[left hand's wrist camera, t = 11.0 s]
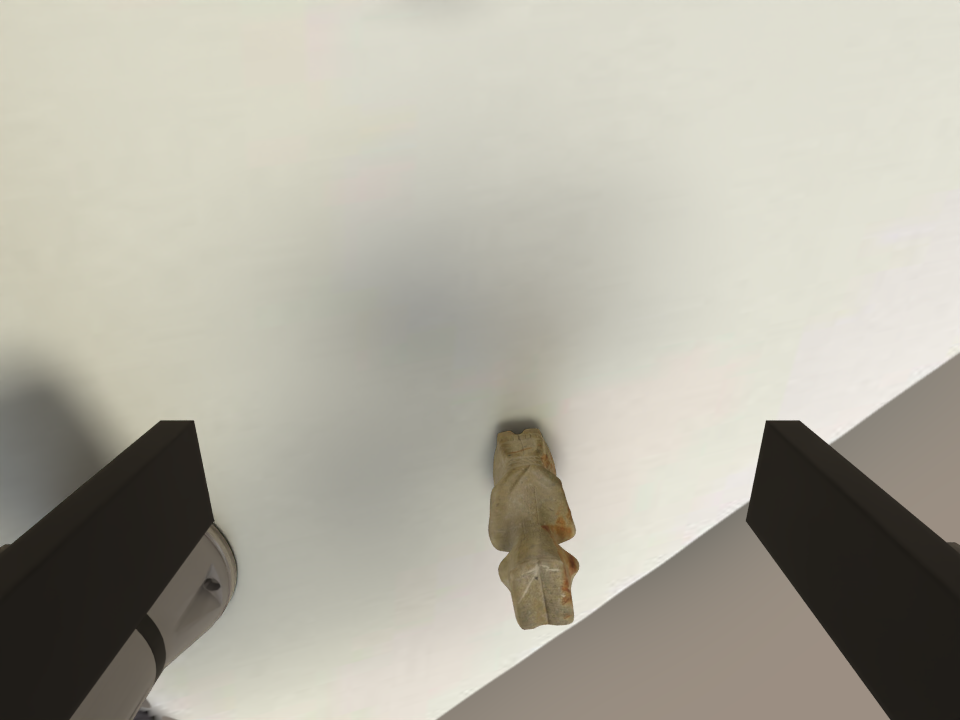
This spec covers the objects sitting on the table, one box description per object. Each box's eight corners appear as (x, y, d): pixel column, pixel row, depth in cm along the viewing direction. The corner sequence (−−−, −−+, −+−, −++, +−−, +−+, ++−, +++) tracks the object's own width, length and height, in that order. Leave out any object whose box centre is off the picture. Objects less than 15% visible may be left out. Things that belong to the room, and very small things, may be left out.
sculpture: (490, 497, 47) (494, 643, 33) (483, 420, 44) (484, 544, 30) (558, 492, 47) (592, 637, 33) (555, 415, 44) (591, 537, 30)
